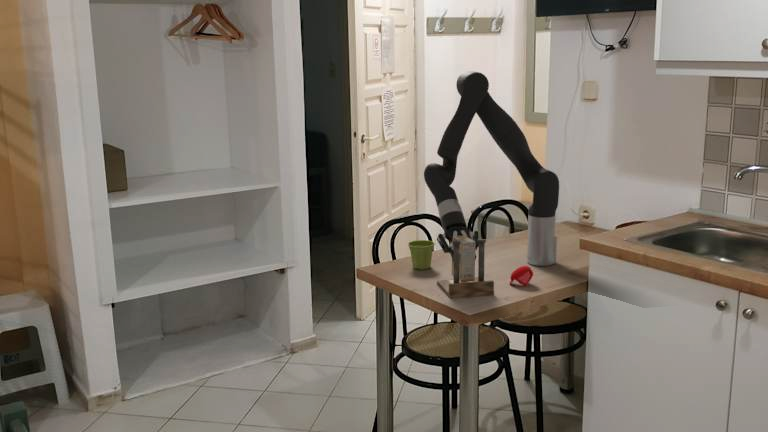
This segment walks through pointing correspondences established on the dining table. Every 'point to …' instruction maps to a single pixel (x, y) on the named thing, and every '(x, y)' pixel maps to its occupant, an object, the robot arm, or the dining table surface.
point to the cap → (522, 275)
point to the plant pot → (421, 253)
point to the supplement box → (466, 259)
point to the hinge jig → (467, 289)
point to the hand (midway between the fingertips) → (465, 261)
